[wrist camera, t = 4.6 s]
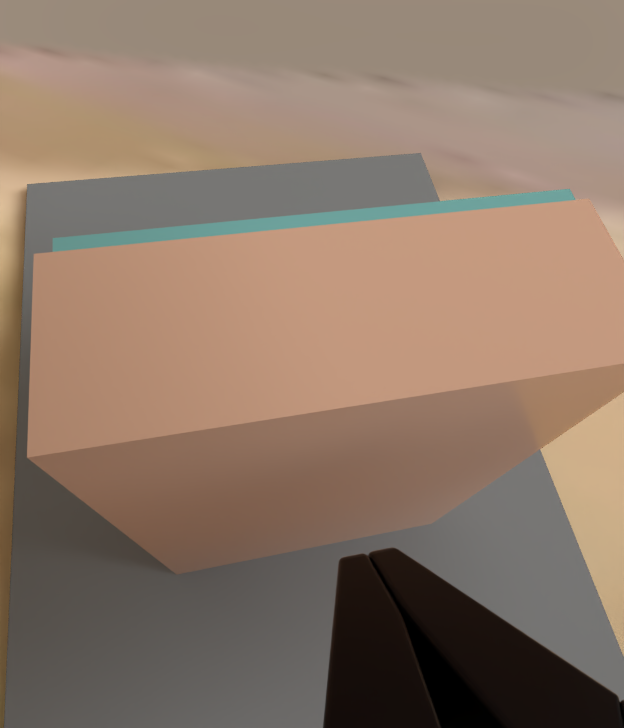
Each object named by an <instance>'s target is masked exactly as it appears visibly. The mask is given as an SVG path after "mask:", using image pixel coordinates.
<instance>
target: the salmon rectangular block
mask: <svg viewBox="0 0 624 728" xmlns="http://www.w3.org/2000/svg"><path fill="white" fill-rule="evenodd" d="M623 392H624V260H623V258H622V256H621V254H620V252H619V251H618V249H617V247H616V245H615V244H614V242H613V240H612V238H611V237H610V235H609V233H608V231H607V229H606V228H605V226H604V224H603V222H602V221H601V219H600V217H599V215H598V214H597V212H596V210H595V208H594V206H593V205H592V203H591V201H590V199H581V200H575V198H574V196H573V194H572V192H571V191H570V189H564V190H553V191H543V192H532V193H522V194H511V195H501V196H490V197H480V198H469V199H459V200H448V201H438V202H427V203H417V204H406V205H396V206H385V207H375V208H364V209H354V210H343V211H333V212H322V213H312V214H301V215H291V216H280V217H270V218H259V219H249V220H238V221H228V222H217V223H207V224H196V225H186V226H175V227H165V228H154V229H144V230H133V231H123V232H112V233H102V234H91V235H81V236H70V237H60V238H53V252H47V253H37V254H34V261H33V291H32V321H31V351H30V381H29V411H28V441H27V458H28V459H29V460H31V461H32V462H33V463H34V464H36V465H37V466H38V467H40V468H41V469H42V470H43V471H45V472H46V473H47V474H49V475H50V476H51V477H52V478H54V479H55V480H56V481H58V482H59V483H60V484H61V485H63V486H64V487H65V488H66V489H68V490H69V491H70V492H72V493H73V494H74V495H75V496H77V497H78V498H79V499H81V500H82V501H83V502H84V503H86V504H87V505H88V506H89V507H91V508H92V509H93V510H95V511H96V512H97V513H98V514H100V515H101V516H102V517H104V518H105V519H106V520H107V521H109V522H110V523H111V524H112V525H114V526H115V527H116V528H118V529H119V530H120V531H121V532H123V533H124V534H125V535H127V536H128V537H129V538H130V539H132V540H133V541H134V542H136V543H137V544H138V545H139V546H141V547H142V548H143V549H144V550H146V551H147V552H148V553H150V554H151V555H152V556H153V557H155V558H156V559H157V560H159V561H160V562H161V563H162V564H164V565H165V566H166V567H167V568H169V569H170V570H171V571H173V572H174V573H175V574H176V575H177V574H182V573H187V572H192V571H197V570H202V569H207V568H212V567H217V566H222V565H227V564H232V563H237V562H242V561H247V560H252V559H257V558H262V557H267V556H272V555H277V554H282V553H287V552H292V551H297V550H302V549H307V548H312V547H317V546H322V545H327V544H332V543H337V542H342V541H347V540H352V539H357V538H362V537H367V536H372V535H377V534H382V533H387V532H392V531H397V530H402V529H407V528H412V527H417V526H422V525H427V524H432V523H433V522H435V521H436V520H438V519H439V518H441V517H442V516H444V515H445V514H446V513H448V512H449V511H451V510H452V509H454V508H455V507H457V506H458V505H460V504H461V503H462V502H464V501H465V500H467V499H468V498H470V497H471V496H473V495H474V494H476V493H477V492H479V491H480V490H481V489H483V488H484V487H486V486H487V485H489V484H490V483H492V482H493V481H495V480H496V479H497V478H499V477H500V476H502V475H503V474H505V473H506V472H508V471H509V470H511V469H512V468H514V467H515V466H516V465H518V464H519V463H521V462H522V461H524V460H525V459H527V458H528V457H530V456H531V455H532V454H534V453H535V452H537V451H538V450H540V449H541V448H543V447H544V446H546V445H547V444H549V443H550V442H551V441H553V440H554V439H556V438H557V437H559V436H560V435H562V434H563V433H565V432H566V431H567V430H569V429H570V428H572V427H573V426H575V425H576V424H578V423H579V422H581V421H582V420H584V419H585V418H586V417H588V416H589V415H591V414H592V413H594V412H595V411H597V410H598V409H600V408H601V407H602V406H604V405H605V404H607V403H608V402H610V401H611V400H613V399H614V398H616V397H617V396H619V395H620V394H621V393H623Z"/></svg>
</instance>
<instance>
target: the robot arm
mask: <svg viewBox="0 0 624 728" xmlns="http://www.w3.org/2000/svg"><path fill="white" fill-rule="evenodd" d="M323 728H624V700H621V701H620V700H619V697H618V695H617V694H615V693H614V692H612V691H611V690H609V689H608V688H606V687H605V686H603V685H602V684H600V683H599V682H597V681H596V680H594V679H593V678H591V677H590V676H588V675H587V674H585V673H584V672H582V671H581V670H579V669H578V668H576V667H575V666H573V665H572V664H570V663H569V662H567V661H566V660H564V659H563V658H561V657H560V656H558V655H557V654H555V653H554V652H552V651H551V650H549V649H548V648H546V647H545V646H543V645H542V644H540V643H539V642H537V641H536V640H534V639H533V638H531V637H530V636H528V635H527V634H525V633H524V632H522V631H521V630H519V629H518V628H516V627H515V626H513V625H512V624H510V623H509V622H507V621H506V620H504V619H503V618H501V617H500V616H498V615H497V614H495V613H494V612H492V611H491V610H489V609H488V608H486V607H485V606H483V605H482V604H480V603H479V602H477V601H476V600H474V599H473V598H471V597H470V596H468V595H467V594H465V593H464V592H462V591H461V590H459V589H458V588H456V587H455V586H453V585H452V584H450V583H449V582H447V581H445V580H444V579H442V578H441V577H439V576H438V575H436V574H435V573H433V572H432V571H430V570H429V569H427V568H426V567H424V566H423V565H421V564H420V563H418V562H417V561H415V560H414V559H412V558H411V557H409V556H408V555H406V554H405V553H403V552H402V551H400V550H399V549H397V548H394V547H391V548H386V549H381V550H376V551H372V552H370V553H369V554H368V556H367V555H366V554H364V553H361V554H356V555H351V556H346V557H342V558H341V559H340V560H339V564H338V574H337V584H336V595H335V605H334V616H333V626H332V637H331V647H330V658H329V668H328V679H327V689H326V700H325V710H324V721H323Z"/></svg>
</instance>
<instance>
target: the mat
mask: <svg viewBox="0 0 624 728" xmlns="http://www.w3.org/2000/svg"><path fill="white" fill-rule="evenodd" d="M438 201H440V200H439V198H438V195H437V193H436V190H435V188H434V185H433V183H432V180H431V178H430V175H429V173H428V170H427V168H426V165H425V163H424V160H423V158H422V155H421V153H416V154H404V155H391V156H379V157H366V158H353V159H341V160H328V161H315V162H303V163H290V164H277V165H265V166H252V167H240V168H227V169H214V170H202V171H189V172H176V173H164V174H151V175H138V176H126V177H113V178H100V179H88V180H75V181H63V182H50V183H37V184H27V204H26V227H25V251H24V274H23V297H22V320H21V344H20V367H19V390H18V414H17V437H16V460H15V483H14V507H13V530H12V553H11V576H10V600H9V623H8V646H7V669H6V693H5V716H4V728H323V721H324V710H325V700H326V689H327V679H328V668H329V658H330V647H331V637H332V626H333V616H334V605H335V595H336V584H337V574H338V564H339V560H340V559H341V558H342V557H346V556H351V555H356V554H361V553H364V554H366V555H367V556H368V554H369V553H370V552H372V551H376V550H381V549H386V548H391V547H394V548H397V549H399V550H400V551H402V552H403V553H405V554H406V555H408V556H409V557H411V558H412V559H414V560H415V561H417V562H418V563H420V564H421V565H423V566H424V567H426V568H427V569H429V570H430V571H432V572H433V573H435V574H436V575H438V576H439V577H441V578H442V579H444V580H445V581H447V582H449V583H450V584H452V585H453V586H455V587H456V588H458V589H459V590H461V591H462V592H464V593H465V594H467V595H468V596H470V597H471V598H473V599H474V600H476V601H477V602H479V603H480V604H482V605H483V606H485V607H486V608H488V609H489V610H491V611H492V612H494V613H495V614H497V615H498V616H500V617H501V618H503V619H504V620H506V621H507V622H509V623H510V624H512V625H513V626H515V627H516V628H518V629H519V630H521V631H522V632H524V633H525V634H527V635H528V636H530V637H531V638H533V639H534V640H536V641H537V642H539V643H540V644H542V645H543V646H545V647H546V648H548V649H549V650H551V651H552V652H554V653H555V654H557V655H558V656H560V657H561V658H563V659H564V660H566V661H567V662H569V663H570V664H572V665H573V666H575V667H576V668H578V669H579V670H581V671H582V672H584V673H585V674H587V675H588V676H590V677H591V678H593V679H594V680H596V681H597V682H599V683H600V684H602V685H603V686H605V687H606V688H608V689H609V690H611V691H612V692H614V693H615V694H617V695H618V697H619V700H620V701H621V700H624V657H623V654H622V652H621V649H620V647H619V644H618V642H617V640H616V637H615V635H614V632H613V630H612V627H611V625H610V622H609V620H608V617H607V615H606V612H605V610H604V607H603V605H602V602H601V600H600V597H599V595H598V592H597V590H596V587H595V585H594V582H593V580H592V577H591V575H590V572H589V570H588V568H587V565H586V563H585V560H584V558H583V555H582V553H581V550H580V548H579V545H578V543H577V540H576V538H575V535H574V533H573V530H572V528H571V525H570V523H569V520H568V518H567V515H566V513H565V510H564V508H563V505H562V503H561V500H560V498H559V496H558V493H557V491H556V488H555V486H554V483H553V481H552V478H551V476H550V473H549V471H548V468H547V466H546V463H545V461H544V458H543V456H542V453H541V451H540V450H538V451H537V452H535V453H534V454H532V455H531V456H530V457H528V458H527V459H525V460H524V461H522V462H521V463H519V464H518V465H516V466H515V467H514V468H512V469H511V470H509V471H508V472H506V473H505V474H503V475H502V476H500V477H499V478H497V479H496V480H495V481H493V482H492V483H490V484H489V485H487V486H486V487H484V488H483V489H481V490H480V491H479V492H477V493H476V494H474V495H473V496H471V497H470V498H468V499H467V500H465V501H464V502H462V503H461V504H460V505H458V506H457V507H455V508H454V509H452V510H451V511H449V512H448V513H446V514H445V515H444V516H442V517H441V518H439V519H438V520H436V521H435V522H433V523H432V524H427V525H422V526H417V527H412V528H407V529H402V530H397V531H392V532H387V533H382V534H377V535H372V536H367V537H362V538H357V539H352V540H347V541H342V542H337V543H332V544H327V545H322V546H317V547H312V548H307V549H302V550H297V551H292V552H287V553H282V554H277V555H272V556H267V557H262V558H257V559H252V560H247V561H242V562H237V563H232V564H227V565H222V566H217V567H212V568H207V569H202V570H197V571H192V572H187V573H182V574H177V575H176V574H175V573H174V572H173V571H171V570H170V569H169V568H167V567H166V566H165V565H164V564H162V563H161V562H160V561H159V560H157V559H156V558H155V557H153V556H152V555H151V554H150V553H148V552H147V551H146V550H144V549H143V548H142V547H141V546H139V545H138V544H137V543H136V542H134V541H133V540H132V539H130V538H129V537H128V536H127V535H125V534H124V533H123V532H121V531H120V530H119V529H118V528H116V527H115V526H114V525H112V524H111V523H110V522H109V521H107V520H106V519H105V518H104V517H102V516H101V515H100V514H98V513H97V512H96V511H95V510H93V509H92V508H91V507H89V506H88V505H87V504H86V503H84V502H83V501H82V500H81V499H79V498H78V497H77V496H75V495H74V494H73V493H72V492H70V491H69V490H68V489H66V488H65V487H64V486H63V485H61V484H60V483H59V482H58V481H56V480H55V479H54V478H52V477H51V476H50V475H49V474H47V473H46V472H45V471H43V470H42V469H41V468H40V467H38V466H37V465H36V464H34V463H33V462H32V461H31V460H29V459H28V458H27V441H28V411H29V381H30V351H31V321H32V291H33V261H34V254H37V253H47V252H53V238H60V237H70V236H81V235H91V234H102V233H112V232H123V231H133V230H144V229H154V228H165V227H175V226H186V225H196V224H207V223H217V222H228V221H238V220H249V219H259V218H270V217H280V216H291V215H301V214H312V213H322V212H333V211H343V210H354V209H364V208H375V207H385V206H396V205H406V204H417V203H427V202H438Z"/></svg>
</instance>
